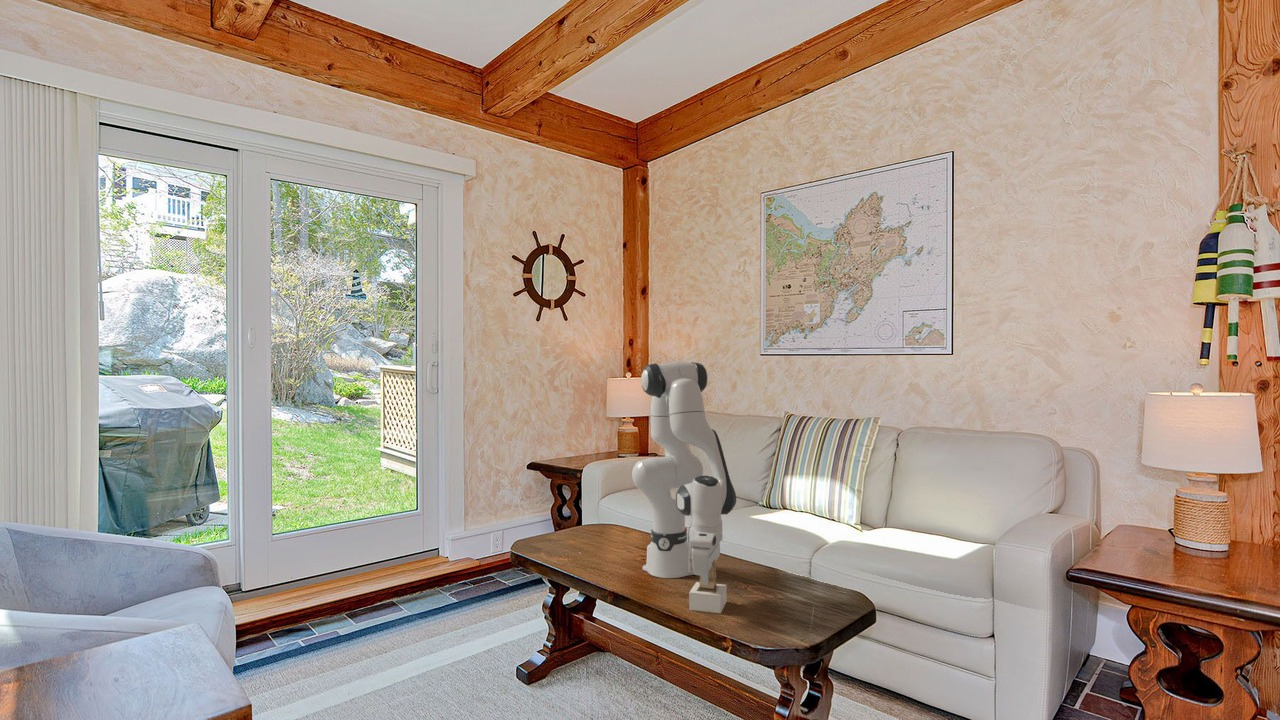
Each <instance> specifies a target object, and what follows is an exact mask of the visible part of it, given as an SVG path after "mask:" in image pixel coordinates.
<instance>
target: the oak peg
mask: <svg viewBox="0 0 1280 720" xmlns="http://www.w3.org/2000/svg"><path fill="white" fill-rule="evenodd" d="M708 575H709V584H708V585H703V584H702V577H701V576H700V575H699V582H700V591H702V592H712V593H716V584H717V560H716V559H715V560H714V562H713V563H712V568H711V569H710V571H709V573H708Z"/></svg>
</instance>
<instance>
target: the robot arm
mask: <svg viewBox="0 0 1280 720" xmlns="http://www.w3.org/2000/svg"><path fill="white" fill-rule="evenodd" d="M640 382H641V387H642V391H643V392H645V393H646V395H649V396H651V397H650V412H649V413H650V416H649V417H650V437H651V439H652V441H653V442H654V443H656V444H657V445H659V446H661V447H662V448H663V449H664V453H665V454H664V455H665V456H657V457H656V456H655V457H648V458H643V459H641V460H639V461H636V462H635V464H634V466H633V468H632V470H631V471H632V472H631V479H632V482H633V484H634V486H635V487H636V488H637V489H638V490H639V491H641V492H642V493H643V494H644V495H645V496H646V498H647V500H648V502H649V505H650V510H651V520H652V521H651V524H652V525H651V526H652V529H651V530H650V531H651V532H650V543H649V544H648V545H647V548H646V564H643V565H642V570H643V571H645V572H647V573H648V574H649V575H651V576H653V577H656V578H661V579H676V578H677V579H678V578H684V577H687V576H693V575H695V576H699V577H700V576H701V577H702V584H703V585H708V584H709V575H708V573H709V571H710V569H711V568H712V563H713V562H714V560H715V559H716V561H717V560H718V558H720V555H721V542H722V541H723V538H724V537H723V535H724V534H723V519H722V515H728V514H730V512H732V511H733V509H734V508H735V507H736V504H737V494H736V491H735V488H734V485H733V483H732V481H731V477H730V474H729V471H728V467H727V466H728V465H727V463H726V458H725V454H724V451H723V448H722V444H721V441H720V438H719V436H718V433H717V432H716V430H714V429H713V428H711V426H710V425H709V423H708V420H707V418H706V417H707V416H706V413H705V405H704V400H703V399H704V398H703V395H702V392H703V391H704V390H705V389H706V388H707V385H708V372H707V369H706V367H705V366H704V365H703V364H702V363H699V362H695V361H691V362H686V361H672V362H662V363H656V362H655V363H651V364H647V365H645V366H644V368H643V369H642V372H641V377H640ZM688 445H690V446H693V447H696V448H699V450H700V449H701V450H702V451H703V453H705V454H706V456H707V460H708V462H709V467H710V470H711V474H712V476H709V475H703V474H704V468H703V467H704V466H703V464H702V461H701V460H700V459H699V458H698V457H697V456H696V455H695V454H693V452H692V451H691V450H690V448H689V446H688ZM672 489H678V490H676V494H675V498H673V497H672V494H671V490H672ZM686 516H687V517H692V520H691V535H690V538H689V541H688V527H687V526H686Z"/></svg>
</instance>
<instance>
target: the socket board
mask: <svg viewBox="0 0 1280 720" xmlns="http://www.w3.org/2000/svg"><path fill="white" fill-rule="evenodd" d="M688 603H689V604H688V605H689V607H688V609H689V611H696V612H706V613H714V614H721V613H722V612H723V610H724V608H725V606H726V604H727V584H723V583H716V593H712V592H702V591H700V581H696V582H695V583H694V585H693V586H692V587H691V589H690V590H689V593H688Z"/></svg>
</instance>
